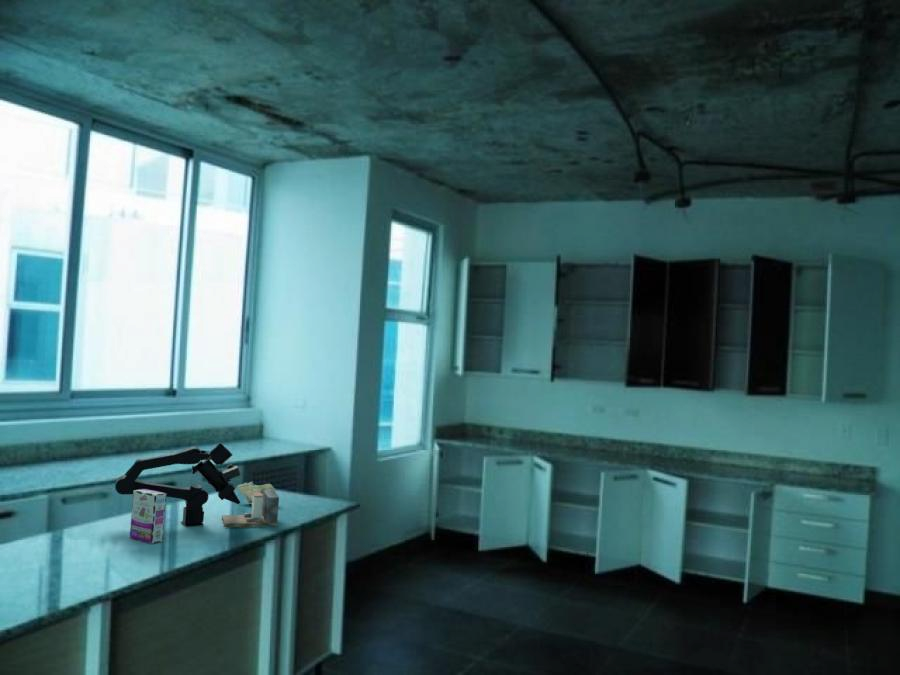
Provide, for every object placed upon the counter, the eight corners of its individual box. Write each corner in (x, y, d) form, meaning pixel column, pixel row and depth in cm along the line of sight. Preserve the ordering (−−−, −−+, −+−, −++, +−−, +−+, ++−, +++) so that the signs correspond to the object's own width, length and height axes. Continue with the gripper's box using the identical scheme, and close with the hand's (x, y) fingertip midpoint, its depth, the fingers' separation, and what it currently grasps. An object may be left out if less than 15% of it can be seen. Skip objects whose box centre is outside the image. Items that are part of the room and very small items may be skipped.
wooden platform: (224, 527, 267) (226, 497, 268) (221, 519, 280) (223, 490, 280) (276, 526, 275) (279, 497, 275) (271, 518, 287) (273, 490, 287)
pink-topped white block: (252, 520, 275) (254, 495, 275) (251, 516, 280) (252, 492, 280) (261, 520, 276) (262, 495, 276) (259, 516, 281) (260, 492, 281)
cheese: (280, 511, 307) (275, 483, 317) (277, 501, 302) (271, 473, 312) (243, 522, 303) (239, 493, 314) (239, 512, 298) (235, 483, 309)
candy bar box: (163, 541, 245) (167, 492, 245) (151, 544, 241) (155, 495, 241) (141, 535, 250) (144, 487, 250) (128, 538, 246) (132, 489, 246)
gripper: (231, 463, 265) (259, 493, 269) (226, 454, 283) (252, 483, 287) (206, 484, 262) (235, 514, 266) (203, 475, 279) (230, 503, 283)
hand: (239, 503), depth 276 cm, fingers closed
